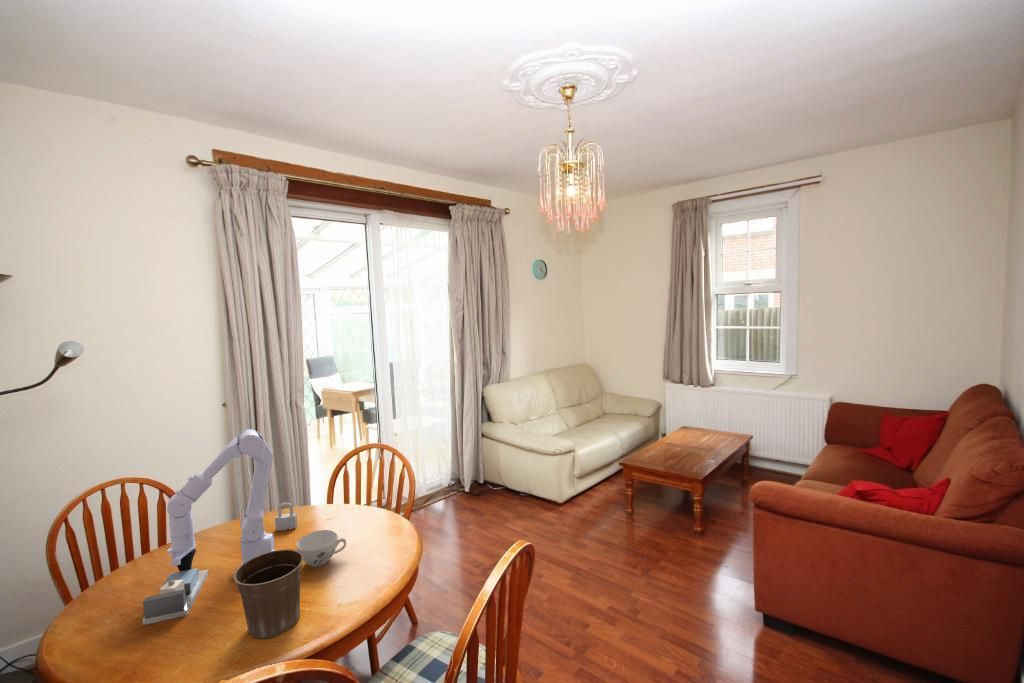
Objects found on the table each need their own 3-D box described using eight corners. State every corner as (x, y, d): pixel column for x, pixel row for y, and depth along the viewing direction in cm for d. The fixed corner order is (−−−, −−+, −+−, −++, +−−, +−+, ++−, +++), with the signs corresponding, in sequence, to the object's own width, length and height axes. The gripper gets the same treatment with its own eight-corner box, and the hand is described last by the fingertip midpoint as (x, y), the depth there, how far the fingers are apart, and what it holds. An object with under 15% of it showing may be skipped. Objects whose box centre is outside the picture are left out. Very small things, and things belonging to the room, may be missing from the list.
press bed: (208, 573, 144) (206, 554, 144) (187, 615, 125) (185, 592, 124) (170, 581, 141) (169, 561, 140) (142, 625, 121) (140, 602, 121)
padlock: (298, 524, 176) (296, 499, 175) (294, 529, 172) (293, 504, 171) (278, 526, 175) (277, 501, 174) (275, 531, 171) (273, 505, 170)
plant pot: (229, 652, 110) (224, 590, 109) (247, 610, 126) (243, 555, 125) (302, 637, 115) (297, 576, 114) (311, 598, 130) (307, 544, 129)
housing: (185, 596, 131) (183, 576, 130) (175, 605, 127) (174, 584, 126) (170, 597, 130) (168, 577, 130) (160, 606, 126) (158, 585, 126)
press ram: (199, 576, 140) (198, 567, 140) (190, 592, 132) (189, 583, 132) (171, 582, 137) (170, 573, 137) (160, 598, 130) (160, 589, 129)
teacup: (294, 576, 141) (292, 552, 141) (300, 556, 153) (299, 533, 153) (345, 567, 146) (344, 543, 145) (348, 548, 158) (346, 525, 157)
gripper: (174, 525, 144) (178, 566, 145) (157, 547, 130) (161, 592, 131) (200, 521, 146) (204, 561, 147) (186, 542, 132) (190, 586, 134)
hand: (185, 575), depth 139 cm, fingers closed
